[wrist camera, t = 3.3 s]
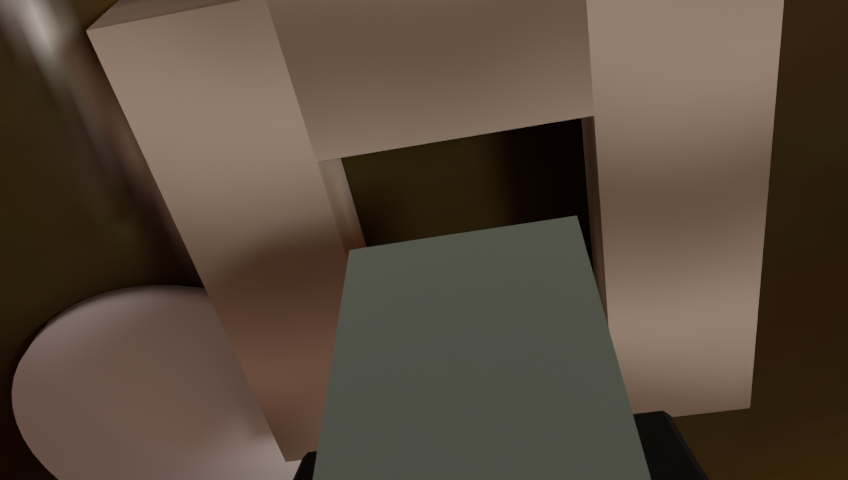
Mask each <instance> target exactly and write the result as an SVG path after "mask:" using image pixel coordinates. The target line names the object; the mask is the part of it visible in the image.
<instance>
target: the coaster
mask: <svg viewBox="0 0 848 480" xmlns="http://www.w3.org/2000/svg"><path fill="white" fill-rule="evenodd" d="M12 406H13V411H14V415H15V419H16V423H17V425H18V427H19V430H20V432H21V434H22V436H23V438H24V440H25V442H26V443H27V445H28V446H29V448H30V449H31V451H32V452H33V454H34V455H35V456H36V457H37V458H38V460H39V461H40V462H41V463H42V464H43V465H44V467H45V468H46V469H47V470H49V471H50V472H51V473H52V474H53V475H54V476H55V477H56V478H57V479H58V480H293V478H294V476H295V474H296V472H297V470H298V467H299V465H300V463H301V461H302V460H299V461H290V462H285V460H284V458H283V455H282V453H281V451H280V449H279V447H278V445H277V442H276V440H275V438H274V436H273V434H272V432H271V430H270V427H269V425H268V423H267V421H266V419H265V417H264V414H263V412H262V410H261V408H260V406H259V404H258V401H257V399H256V397H255V395H254V393H253V391H252V388H251V386H250V384H249V382H248V380H247V378H246V376H245V373H244V371H243V369H242V367H241V365H240V363H239V360H238V358H237V356H236V354H235V352H234V350H233V347H232V345H231V343H230V341H229V339H228V337H227V334H226V332H225V330H224V328H223V326H222V324H221V322H220V319H219V317H218V315H217V313H216V311H215V309H214V306H213V304H212V302H211V300H210V298H209V296H208V293H207V291H206V289H205V288H200V287H191V286H182V285H146V286H135V287H127V288H122V289H117V290H112V291H107V292H104V293H101V294H98V295H95V296H92V297H89V298H86V299H84V300H82V301H80V302H78V303H76V304H74V305H72V306H70V307H68V308H66V309H65V310H63V311H62V312H61V313H59V314H58V315H57V316H55V317H54V318H52V319H51V320H50V321H49V322H48V323H47V324H46V325H45V326H44V327H43V328H42V329H41V330H40V331H39V332H38V334H37V335H36V337H35V339H34V340H33V342H32V343H31V345H30V346H29V348H28V350H27V351H26V353H25V354H24V356H23V357H22V359H21V360H20V362H19V365H18V367H17V370H16V373H15V375H14V380H13V387H12Z"/></svg>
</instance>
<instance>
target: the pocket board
mask: <svg viewBox="0 0 848 480" xmlns="http://www.w3.org/2000/svg"><path fill="white" fill-rule="evenodd" d="M783 5H784V0H119V1H118V2H116V3H115V4H114V5H113V6H112V7H111V8H110V9H109V10H108V11H107V12H106V13H104V14H103V15H102V16H101V17H100V18H99V19H98V20H97V21H96V22H95V23H94V24H92V25H91V26H90V27H89V28H88V29H87V30H86V32H87V34H88V36H89V39H90V41H91V43H92V45H93V47H94V49H95V51H96V54H97V56H98V58H99V60H100V62H101V64H102V67H103V69H104V71H105V73H106V75H107V77H108V80H109V82H110V84H111V86H112V88H113V90H114V93H115V95H116V97H117V99H118V101H119V103H120V105H121V108H122V110H123V112H124V114H125V116H126V118H127V121H128V123H129V125H130V127H131V129H132V131H133V134H134V136H135V138H136V140H137V142H138V144H139V147H140V149H141V151H142V153H143V155H144V157H145V159H146V162H147V164H148V166H149V168H150V170H151V172H152V175H153V177H154V179H155V181H156V183H157V185H158V188H159V190H160V192H161V194H162V196H163V198H164V201H165V203H166V205H167V207H168V209H169V211H170V213H171V216H172V218H173V220H174V222H175V224H176V226H177V229H178V231H179V233H180V235H181V237H182V239H183V242H184V244H185V246H186V248H187V250H188V252H189V255H190V257H191V259H192V261H193V263H194V265H195V268H196V270H197V272H198V274H199V276H200V278H201V280H202V283H203V285H204V287H205V289H206V291H207V293H208V296H209V298H210V300H211V302H212V304H213V306H214V309H215V311H216V313H217V315H218V317H219V319H220V322H221V324H222V326H223V328H224V330H225V332H226V334H227V337H228V339H229V341H230V343H231V345H232V347H233V350H234V352H235V354H236V356H237V358H238V360H239V363H240V365H241V367H242V369H243V371H244V373H245V376H246V378H247V380H248V382H249V384H250V386H251V388H252V391H253V393H254V395H255V397H256V399H257V401H258V404H259V406H260V408H261V410H262V412H263V414H264V417H265V419H266V421H267V423H268V425H269V427H270V430H271V432H272V434H273V436H274V438H275V440H276V442H277V445H278V447H279V449H280V451H281V453H282V455H283V458H284V460H285V462H290V461H299V460H302V458H303V457H304V456H305V455H306V454H307V453H308V452H313V451H317V449H318V443H319V437H320V430H321V424H322V418H323V412H324V405H325V399H326V393H327V387H328V381H329V374H330V368H331V362H332V356H333V349H334V343H335V337H336V331H337V324H338V318H339V312H340V306H341V300H342V293H343V287H344V281H345V275H346V268H347V262H348V256H349V250H353V249H360V248H366V243H365V240H364V236H363V233H362V230H361V226H360V223H359V219H358V216H357V212H356V209H355V206H354V202H353V199H352V195H351V192H350V188H349V185H348V182H347V178H346V175H345V171H344V168H343V165H342V161H341V158H342V157H348V156H354V155H360V154H366V153H372V152H378V151H384V150H390V149H396V148H402V147H408V146H414V145H420V144H427V143H433V142H439V141H445V140H451V139H457V138H463V137H469V136H475V135H481V134H487V133H493V132H499V131H505V130H511V129H517V128H523V127H529V126H535V125H541V124H547V123H553V122H559V121H565V120H571V119H577V118H581V121H582V134H583V147H584V159H585V172H586V184H587V197H588V210H589V222H590V235H591V248H592V260H593V273H594V274H593V275H594V278H595V282H596V285H597V289H598V292H599V296H600V299H601V303H602V307H603V310H604V314H605V317H606V321H607V324H608V328H609V331H610V335H611V339H612V342H613V346H614V349H615V353H616V356H617V360H618V363H619V367H620V371H621V374H622V378H623V381H624V385H625V388H626V392H627V396H628V399H629V403H630V406H631V410H632V413H633V414H637V413H646V412H654V411H664V412H666V413H668V414H669V415H671V417H676V416H684V415H693V414H702V413H710V412H719V411H727V410H736V409H744V408H750V400H751V388H752V376H753V364H754V352H755V340H756V328H757V316H758V304H759V292H760V280H761V268H762V256H763V244H764V232H765V220H766V208H767V196H768V184H769V173H770V161H771V149H772V137H773V125H774V113H775V101H776V89H777V77H778V65H779V53H780V41H781V29H782V17H783Z"/></svg>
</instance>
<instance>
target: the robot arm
mask: <svg viewBox="0 0 848 480" xmlns="http://www.w3.org/2000/svg"><path fill="white" fill-rule="evenodd" d="M633 417H634V420H635V424H636V428H637V431H638V435H639V438H640V442H641V445H642V449H643V452H644V456H645V460H646V463H647V467H648V470H649V474H650V477H651V480H709V478H708V477H707V475H706V474H705V472H704V471H703V469H702V468H701V466H700V465H699V463H698V462H697V460H696V459H695V457H694V455H693V454H692V452H691V451H690V449H689V447H688V446H687V444H686V442H685V441H684V439H683V437H682V435H681V434H680V432H679V430H678V428H677V427H676V425H675V423H674V421H673V419H672V417H671V415H669V414H668V413H666V412H664V411H654V412H646V413H637V414H633ZM316 455H317V451H313V452H308V453H307V454H306V455H305V456H304V457H303V458H302V461H301V463H300V465H299V467H298V470H297V472H296V474H295V476H294V478H293V480H313V474H314V468H315V462H316Z"/></svg>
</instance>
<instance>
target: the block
mask: <svg viewBox="0 0 848 480" xmlns="http://www.w3.org/2000/svg"><path fill="white" fill-rule="evenodd" d="M313 480H651V477H650V474H649V470H648V467H647V463H646V460H645V456H644V452H643V449H642V445H641V442H640V438H639V435H638V431H637V428H636V424H635V420H634V417H633V413H632V410H631V406H630V403H629V399H628V396H627V392H626V388H625V385H624V381H623V378H622V374H621V371H620V367H619V363H618V360H617V356H616V353H615V349H614V346H613V342H612V339H611V335H610V331H609V328H608V324H607V321H606V317H605V314H604V310H603V307H602V303H601V299H600V296H599V292H598V289H597V285H596V282H595V278H594V275H593V271H592V267H591V264H590V260H589V257H588V253H587V250H586V246H585V242H584V239H583V235H582V232H581V228H580V225H579V221H578V218H577V216H571V217H564V218H558V219H551V220H544V221H538V222H531V223H525V224H518V225H511V226H505V227H498V228H492V229H485V230H478V231H472V232H465V233H459V234H452V235H445V236H439V237H432V238H426V239H419V240H412V241H406V242H399V243H393V244H386V245H379V246H373V247H366V248H360V249H353V250H349V256H348V262H347V268H346V275H345V281H344V287H343V293H342V300H341V306H340V312H339V318H338V324H337V331H336V337H335V343H334V349H333V356H332V362H331V368H330V374H329V381H328V387H327V393H326V399H325V405H324V412H323V418H322V424H321V430H320V437H319V443H318V449H317V455H316V462H315V468H314V474H313Z"/></svg>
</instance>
